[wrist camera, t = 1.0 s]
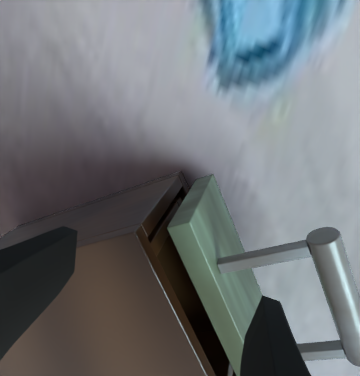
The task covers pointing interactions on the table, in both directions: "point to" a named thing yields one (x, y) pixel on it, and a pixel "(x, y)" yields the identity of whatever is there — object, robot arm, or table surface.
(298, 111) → the table surface
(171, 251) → the drawer
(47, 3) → the table surface
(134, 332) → the cabinet
